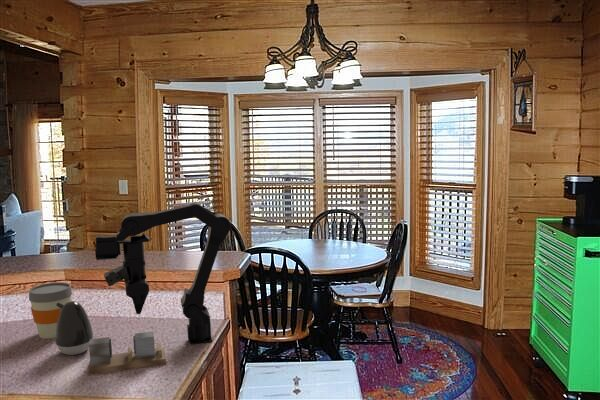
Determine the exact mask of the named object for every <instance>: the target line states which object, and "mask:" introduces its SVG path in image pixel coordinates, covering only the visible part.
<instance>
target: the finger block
mask: <svg viewBox="0 0 600 400" xmlns="http://www.w3.org/2000/svg"><path fill="white" fill-rule="evenodd" d="M155 349H156V348H155V335H154V331H153V330H152V331H145V332H137V333H134V335H133V352H134V354H136V360H138V359H145V358H152V357H155Z"/></svg>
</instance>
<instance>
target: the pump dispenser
mask: <svg viewBox="0 0 600 400" xmlns="http://www.w3.org/2000/svg"><path fill="white" fill-rule="evenodd" d="M56 306H58V307H59V308H60V309H61V311H60V314H59V317H58V321H57V325H56V334H55V338H54V341H55V345H56V346H57V348H58V350H59V351H60V352H61V353H62V354H65V355H68V356H74V355H76V356H77V355H80V354H82V353H84V352H86V351H87V350H88V349H89V342H90V339H94V332H93V328H92V325H91V321H90V319H89V316H88V314H87V312H86V309H85V308H84V306H83V305H81V303H80V302H78V301H74V300H71V301H70V302H67V303H66V304H65V305H63V304H61V303H57V304H56Z"/></svg>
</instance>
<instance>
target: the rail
mask: <svg viewBox="0 0 600 400" xmlns="http://www.w3.org/2000/svg"><path fill="white" fill-rule="evenodd" d="M156 346H157V348H155V357H152V358H145V359H138V360H136V354H134V351H133V349H132V348H133V347H132V346H129V347H127V352H120V353H114V354H113V349H112V339H111V338H110V336H108V337H107V336H106V337H99V338H93V339H90V342H89V348H88V349H89V350H88V351H89V363H88V367H87V368H88V369H87V375H88V376H92V375H93V376H94V375H99V374H107V373H113V372H118V371H126V370H132V369H140V368H146V367H147V368H148V367H153V366H161V365H166V364H167V358H166V350H165V347H162V343H161V342H160V343H157V345H156Z"/></svg>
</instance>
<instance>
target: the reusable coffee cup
mask: <svg viewBox="0 0 600 400" xmlns="http://www.w3.org/2000/svg"><path fill="white" fill-rule="evenodd" d="M71 286H72V285H71V283H68V282H63V281H62V282H60V281H59V282H58V281H57V282H47V283H43V284H39V285H36V286H33V287H32V288H30V289H29V290H28V301H30V304H31V306H30V311H31V315H32V319H33V323H34V324H35V325H36V329H37V333H38V337H39V338H41V339H46V340H47V339H55V334H56V325H57V321H58V317H59V314H60V311H61V309H60V308H59V307H58V306H56V304H57V303H61V304H63V305H65V304H66V303H67V302H70V301H72V295H73V291H72V287H71Z"/></svg>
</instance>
